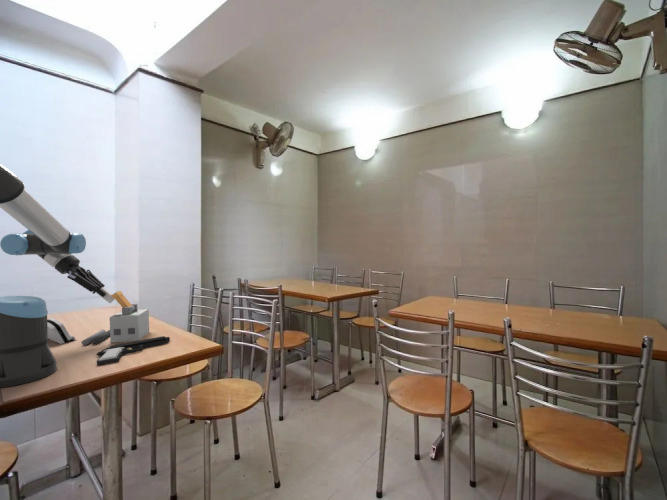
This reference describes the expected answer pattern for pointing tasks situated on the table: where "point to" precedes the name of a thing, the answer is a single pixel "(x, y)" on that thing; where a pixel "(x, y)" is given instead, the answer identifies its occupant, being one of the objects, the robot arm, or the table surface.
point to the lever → (122, 300)
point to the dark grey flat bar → (96, 337)
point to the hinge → (58, 331)
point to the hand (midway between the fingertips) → (112, 300)
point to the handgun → (128, 349)
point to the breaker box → (129, 325)
